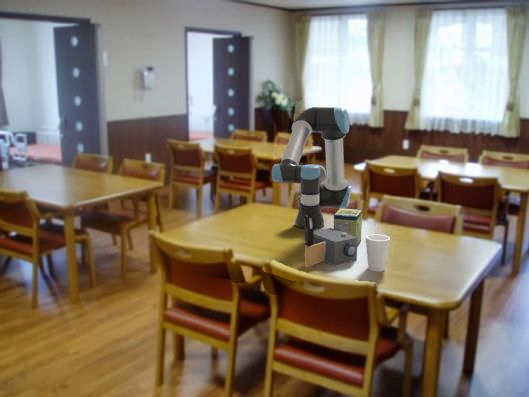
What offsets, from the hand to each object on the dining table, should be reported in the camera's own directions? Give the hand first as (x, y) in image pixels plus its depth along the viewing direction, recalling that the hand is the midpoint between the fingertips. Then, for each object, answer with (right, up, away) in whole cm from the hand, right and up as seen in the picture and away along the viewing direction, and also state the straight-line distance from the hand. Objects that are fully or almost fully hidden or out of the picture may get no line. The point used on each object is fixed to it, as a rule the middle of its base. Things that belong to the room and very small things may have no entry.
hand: (308, 259), depth 222 cm
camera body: (+11, 0, +9) cm, 14 cm away
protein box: (+20, +3, +26) cm, 33 cm away
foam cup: (+27, -4, -5) cm, 28 cm away
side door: (+3, -2, -2) cm, 3 cm away
